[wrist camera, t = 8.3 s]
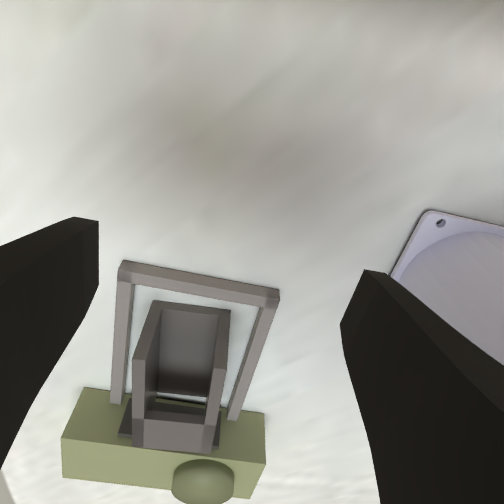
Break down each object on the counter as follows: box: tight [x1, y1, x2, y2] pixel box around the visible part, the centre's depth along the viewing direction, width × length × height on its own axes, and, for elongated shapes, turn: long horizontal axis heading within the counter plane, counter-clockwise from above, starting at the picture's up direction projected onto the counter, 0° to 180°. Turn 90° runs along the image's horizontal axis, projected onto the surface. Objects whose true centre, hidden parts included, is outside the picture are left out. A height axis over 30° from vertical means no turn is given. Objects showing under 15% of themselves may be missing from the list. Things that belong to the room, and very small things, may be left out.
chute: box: [132, 300, 231, 454], centre depth 24 cm, size 8×5×5 cm, turn 170°
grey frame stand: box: [61, 260, 280, 504], centre depth 24 cm, size 14×17×5 cm
